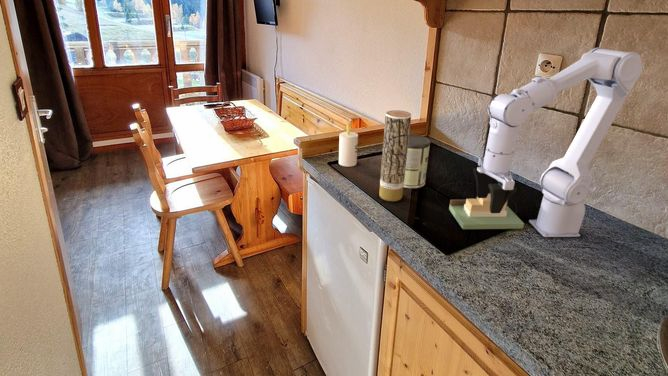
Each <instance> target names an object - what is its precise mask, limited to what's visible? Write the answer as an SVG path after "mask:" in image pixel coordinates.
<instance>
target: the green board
mask: <svg viewBox="0 0 668 376" xmlns="http://www.w3.org/2000/svg"><path fill="white" fill-rule="evenodd" d="M466 199H467V198H466ZM466 199H465V198H464V199H463V198H462V199H450V200H449V207H448V210H449V211H450V213H451V215H452V216H453V217H454V219H455V220H456V222H457V223H458V225H459V226H460V228H461V229H462V230H515V229H516V230H519V229H521V230H522V229H523V230H524V227H525V222H523V220H521V218H519V217H518V215H517V214H516V213H515V212H514V211H513V210H512V209H511V208H510V207H509V206H508V203H509V199H508V200H507V204H506V208H505V210H506V211H507V215H506V216H501V217H469V216H468V214H467V213H466V212H465V210H464V204H466Z"/></svg>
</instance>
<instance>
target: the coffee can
mask: <svg viewBox="0 0 668 376" xmlns="http://www.w3.org/2000/svg"><path fill="white" fill-rule="evenodd" d="M431 143H432V140H431V139H430V138H428V137H426V136H423V135H419V134H409V141H408V151H407V160H406V169H405V178H404V186H403V188H405V189H420V188H422V187H424V186H425V185H426V179H427V172H428V171H427V169H428V163H429V153H430V146H431Z"/></svg>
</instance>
